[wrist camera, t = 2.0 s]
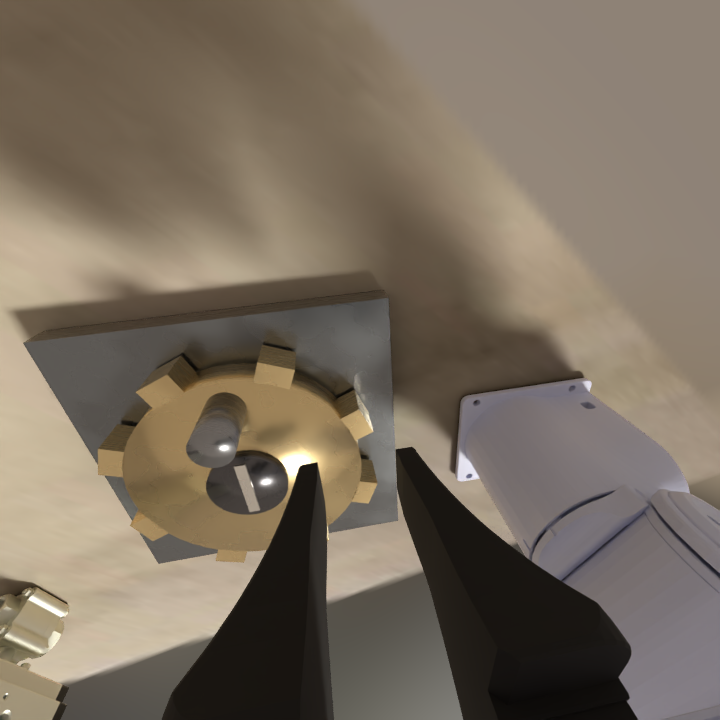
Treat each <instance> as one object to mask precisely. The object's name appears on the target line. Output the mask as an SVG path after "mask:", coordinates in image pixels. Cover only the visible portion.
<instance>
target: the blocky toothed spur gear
mask: <svg viewBox="0 0 720 720" xmlns="http://www.w3.org/2000/svg"><path fill="white" fill-rule="evenodd" d="M295 361H296V352H293V351H289V350H284V349H279V348H275V347H270V346H266V345H262V348H261V351H260V355H259V358H258V362H257V364H252V363H239V364H226V365H221V366H216V367H211V368H208V369H204V370H201V371H198V372H196V371H195V370H194V369H193V368H192V367H191V366H190V365H189V364H188V362H187V361H186V360H185V359H184V358H183V357H182V356H179V357H177V358H175V359H174V360H172V361H170V362H168V363H167V364H165V365H163V366H161V367H159V368H158V369H156V370H154V371H152V373H151V374H150V375H149V376H148V378H147V379H146V380H145V381H144V382H143V384H142V385H141V386H140V387H139V388H138V390H137V391H136V393H137V394H138V395H139V396H140V397H141V398H142V399H143V400H145V401H146V402H147V403H148V404H149V405H150V407H149V409H148V410H147V412H146V413H145V415H144V416H143V417H142V419H141V420H140V422H139V423H138V425H137V426H136V427H135V426H128V425H120V424H117V425H116V426H115V428H114V429H113V430H112V432H111V433H110V434H109V435H108V437H107V438H106V439H105V440H104V442H103V443H102V444H101V446H100V447H99V448H98V475H105V476H115V477H123V479H124V482H125V486H126V489H127V491H128V493H129V495H130V497H131V499H132V501H133V502H134V503H135V505H136V506H137V508H138V511H137V513H136V515H135V517H134V519H133V521H132V523H131V525H130V526H131V527H133V528H134V529H136V530H137V531H139V532H140V533H142V534H143V535H144V536H146V537H147V538H149V539H150V540H152V541H154V540H156V539H158V538H160V537H162V536H164V535H166V534H168V533H169V534H171V535H173V536H175V537H177V538H179V539H181V540H184V541H187V542H189V543H192V544H195V545H199V546H202V547H206V548H212V549H217V550H218V553H217V557H216V561H227V562H244V561H245V557H246V553H247V551H261V550H267V549H268V547H269V545H270V543H271V540H272V538H273V536H274V534H275V532H276V529H277V527H278V525H279V523H280V521H281V518H282V516H283V513H284V510H285V508H286V505H287V503H288V500H289V497H290V495H291V492H292V489H293V486H294V482H295V479H296V475H297V471H298V467H299V466H300V465H303V464H309V463H316V462H318V467H319V472H320V477H321V483H322V488H323V493H324V498H325V507H326V520H327V541H329V535H328V526H329V525H330V524H331V523H333V522H334V521H335V520H336V519H337V518H338V517H339V516H340V515H341V514H342V513H343V512H344V511H345V510H346V509H347V507H348V506H349V504H350V503H351V502H358V503H368V504H369V502H370V499H371V497H372V495H373V493H374V491H375V488H376V486H377V484H378V483H377V479H376V474H375V470H374V466H373V462H372V460H366V459H361V457H360V452H359V447H358V442H357V440H358V439H360V438H362V437H364V436H366V435H368V434H370V433H372V432H373V428H372V424H371V420H370V417H369V413H368V410H367V408H366V407H365V405H364V404H363V402H362V401H361V399H360V398H359V396H358V394H357V393H356V391H355V390H353V391H351V392H349V393H347V394H345V395H343V396H341V397H339V398H336V397H335V396H334V395H333V394H332V393H331V392H330V391H329V390H327V389H326V388H324V387H323V386H322V385H320V384H319V383H317V382H316V381H314V380H312V379H310V378H308V377H306V376H304V375H302V374H299V373H297V372H295Z"/></svg>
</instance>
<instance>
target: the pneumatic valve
mask: <svg viewBox="0 0 720 720" xmlns="http://www.w3.org/2000/svg"><path fill="white" fill-rule="evenodd" d="M68 607H69V606H68V605H67V604H65V603H64V602H62V601H60V600H58V599H57V598H55V597H53V596H51V595H50V594H48V593H46V592H44V591H43V590H41V589H39V588H37V587H34V588H30V587H29V588H27V589H24V590H23V591H22V594H21V595H18V596H14V595H12V594H6V595H3V596H0V720H60V719H61V717H62V715H63V713H64V710H65V708H66V706H67V705H66V704H64V703H62V702H63V699H64V697H65V695H66V693H67V691H68V689H69V687H67V686H64V685H62V684H59V683H57V682H55V681H52V680H50V679H48V678H45V677H43V676H40V675H38V674H36V673H33V672H31V671H29V670H28V669H29V668H30V666H31V665H30V664H29V663H24V664H22V665H21V666H18V665H16V664H17V663H18V662H19V661H22V660H24V659H27V658H28V657H29V658H31V659H33V658H38V657H41V656H43V655H44V654H46V653H47V652H48V651H49V650H50V649H51V648H52V647H53V646H54V645H55V644H56V643H57V641H58V640H59V638H60V637H61V635H62V633H63V630H64V624H63V621H61V620H60V618H63V617H65V616H66V615H67V614H68V612H69V609H68Z"/></svg>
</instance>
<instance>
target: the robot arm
mask: <svg viewBox="0 0 720 720" xmlns="http://www.w3.org/2000/svg"><path fill="white" fill-rule="evenodd" d="M591 384H592V383H591V381H590V380H588V379H587V378H580V379H573V380H567V381H560V382H553V383H547V384H540V385H533V386H527V387H520V388H514V389H507V390H500V391H494V392H487V393H480V394H474V395H468V396H465V397H464V398H462V400H461V404H460V417H459V431H458V444H457V458H456V471H455V476H456V478H457V480H458V481H467V480H473V479H479V478H480V479H481V481H482V483H483V485H484V486H485V488H486V490H487V491H488V493H489V495H490V497H491V498H492V500H493V502H494V503H495V505H496V507H497V508H498V510H499V512H500V514H501V515H502V517H503V519H504V520H505V522H506V524H507V525H508V527H509V529H510V531H511V532H512V534H513V536H514V537H515V539H516V541H517V543H518V544H519V546H520V548H521V549H522V551H523V552H524V554H525V556H526V557H525V556H524V555H522V554H521V553H520V552H518V551H517V550H516V549H514V548H513V547H511V546H510V545H509V544H507V543H506V542H505V541H504V540H502V539H501V538H500V537H499V536H497V535H496V534H495V533H494V532H492V531H491V530H490V529H489V528H488V527H487V526H485V525H484V524H483V523H482V522H481V521H480V520H479V519H477V518H476V517H475V516H474V515H473V514H472V513H471V512H470V511H469V510H468V509H467V508H466V507H465V506H464V505H463V504H462V503H461V502H460V501H459V500H458V499H457V498H456V497H455V496H454V495H453V494H452V493H451V492H450V491H449V490H448V489H447V488H446V487H445V486H444V485H443V483H442V482H441V481H440V480H439V479H438V478H437V477H436V476H435V474H434V473H433V472H432V471H431V470H430V468H429V467H428V466H427V465H426V463H425V462H424V461H423V460H422V458H421V457H420V456H419V454H418V453H417V452H416V450H415V449H414V448H413V447H408V448H402V449H396V471H397V490H398V494H399V498H400V502H401V506H402V510H403V514H404V517H405V520H406V523H407V526H408V528H409V531H410V534H411V537H412V540H413V542H414V545H415V548H416V551H417V553H418V556H419V559H420V562H421V564H422V567H423V570H424V573H425V575H426V578H427V581H428V585H429V588H430V591H431V595H432V598H433V602H434V606H435V609H436V613H437V617H438V621H439V624H440V628H441V632H442V636H443V640H444V644H445V647H446V651H447V655H448V659H449V663H450V667H451V671H452V675H453V679H454V683H455V687H456V691H457V695H458V699H459V703H460V707H461V712H462V716H463V720H720V511H719V510H717V509H716V508H715V507H713V506H711V505H710V504H708V503H706V502H705V501H703V500H701V499H699V498H698V497H696V496H694V495H692V494H690V493H689V488H688V484H687V481H686V479H685V477H684V475H683V473H682V471H681V470H680V468H679V466H678V465H677V463H676V462H675V461H674V459H673V458H672V457H671V456H670V454H669V453H668V452H667V451H666V450H665V449H664V448H663V447H662V446H661V445H659V444H658V443H657V442H656V441H654V440H653V439H652V438H650V437H649V436H648V435H646V434H645V433H643V432H642V431H641V430H639V429H638V428H637V427H635V426H634V425H633V424H631V423H630V422H629V421H627V420H626V419H625V418H623V417H622V416H621V415H619V414H618V413H616V412H615V411H614V410H612V409H611V408H610V407H608V406H607V405H606V404H604V403H603V402H602V401H600V400H599V399H598V398H596V397H595V396H593V395H592V394H591V393H589V392H590V388H591ZM570 386H571V387H570ZM569 387H570V388H569ZM475 400H477V402H475V403H473V402H474V401H475ZM326 577H327V520H326V507H325V498H324V493H323V488H322V483H321V477H320V472H319V467H318V462H316V463H309V464H303V465H300V466H299V467H298V471H297V475H296V479H295V482H294V486H293V489H292V492H291V495H290V497H289V500H288V503H287V505H286V508H285V510H284V513H283V516H282V518H281V521H280V523H279V525H278V527H277V529H276V532H275V534H274V536H273V538H272V540H271V543H270V545H269V547H268V549H267V551H266V553H265V555H264V557H263V559H262V560H261V562H260V564H259V566H258V568H257V570H256V571H255V573H254V575H253V577H252V578H251V580H250V582H249V584H248V585H247V587H246V589H245V590H244V592H243V594H242V595H241V597H240V599H239V600H238V602H237V603H236V605H235V606H234V608H233V610H232V611H231V613H230V614H229V615H228V617H227V618H226V620H225V621H224V623H223V624H222V626H221V627H220V629H219V630H218V632H217V633H216V634H215V636H214V637H213V639H212V641H211V642H210V643H209V645H208V646H207V648H206V649H205V650H204V652H203V653H202V654H201V655H200V657H199V658H198V659H197V661H196V662H195V663H194V664H193V666H192V667H191V668H190V670H189V671H188V672H187V674H186V675H185V676H184V678H183V679H182V680H181V681H180V683H179V684H178V685H177V687H176V688H175V689H174V691H173V692H172V694H171V697H170V699H169V701H168V704H167V707H166V709H165V712H164V714H163V717H162V720H334V715H333V700H332V687H331V673H330V659H329V643H328V629H327V613H326Z"/></svg>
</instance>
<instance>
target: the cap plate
mask: <svg viewBox="0 0 720 720" xmlns="http://www.w3.org/2000/svg"><path fill="white" fill-rule="evenodd" d="M23 344H24V345H25V347H26V348H27V350H28V352H29V353H30V355H31V357H32V358H33V360H34V362H35V363H36V365H37V366H38V368H39V370H40V371H41V373H42V375H43V376H44V378H45V379H46V381H47V383H48V384H49V386H50V388H51V389H52V391H53V392H54V394H55V396H56V397H57V399H58V401H59V402H60V404H61V405H62V407H63V409H64V410H65V412H66V414H67V415H68V417H69V419H70V420H71V422H72V423H73V425H74V427H75V428H76V430H77V432H78V433H79V435H80V436H81V438H82V440H83V441H84V443H85V445H86V446H87V448H88V449H89V451H90V453H91V454H92V456H93V458H94V459H95V461H96V462H97V464H98V448H99V447H100V446H101V444H102V443H103V442H104V440H105V439H106V438H107V437H108V435H109V434H110V433H111V432H112V430H113V429H114V428H115V426H116V425H117V424H120V425H128V426H135V427H136V426H137V425H138V423H139V422H140V420H141V419H142V417H143V416H144V415H145V413H146V412H147V410H148V409H149V407H150V405H149V404H148V403H147V402H146V401H145V400H143V399H142V398H141V397H140V396H139V395H138V394H137V393H136V391H137V390H138V388H139V387H140V386H141V385H142V384H143V382H144V381H145V380H146V379H147V378H148V376H149V375H150V374H151V373H152V371H154V370H156V369H158V368H159V367H161V366H163V365H165V364H167V363H168V362H170V361H172V360H174V359H175V358H177V357H179V356H182V357H183V358H184V359H185V360H186V361H187V362H188V364H189V365H190V366H191V367H192V368H193V369H194V370H195V371H196V372H198V371H201V370H204V369H208V368H211V367H216V366H221V365H226V364H239V363H252V364H257V362H258V358H259V355H260V351H261V348H262V345H266V346H270V347H275V348H279V349H284V350H289V351H293V352H296V361H295V372H297V373H299V374H302V375H304V376H306V377H308V378H310V379H312V380H314V381H316V382H317V383H319V384H320V385H322V386H323V387H324V388H326V389H327V390H329V391H330V392H331V393H332V394H333V395H334V396H335V397H336V398H339V397H341V396H343V395H345V394H347V393H349V392H351V391H353V390H355V391H356V393H357V394H358V396H359V398H360V399H361V401H362V402H363V404H364V405H365V407H366V408H367V410H368V413H369V417H370V420H371V424H372V428H373V432H372V433H370V434H368V435H366V436H364V437H362V438H360V439H358V440H357V442H358V447H359V452H360V457H361V459H366V460H372V462H373V466H374V470H375V474H376V479H377V483H378V484H377V486H376V488H375V491H374V493H373V495H372V497H371V499H370V502H369V504H368V503H358V502H351V503H350V504H349V506H348V507H347V509H346V510H345V511H344V512H343V513H342V514H341V515H340V516H339V517H338V518H337V519H336V520H335V521H334V522H333V523H331V524H330V525H329V526H328V533H331V532H337V531H343V530H348V529H354V528H359V527H365V526H370V525H376V524H381V523H387V522H393V521H398V509H397V485H396V461H395V437H394V413H393V389H392V365H391V341H390V317H389V298H388V296H387V295H386V293H385V292H384V291H383V290H380V291H371V292H363V293H355V294H347V295H338V296H330V297H322V298H313V299H305V300H297V301H288V302H280V303H272V304H264V305H255V306H247V307H239V308H230V309H222V310H214V311H206V312H197V313H189V314H181V315H172V316H164V317H156V318H148V319H139V320H131V321H123V322H114V323H106V324H98V325H90V326H81V327H73V328H65V329H56V330H48V331H43V332H42V333H40V334H38V335H36V336H34V337H33V338H31V339H29V340H27V341H26V342H24V343H23ZM104 476H105V475H104ZM105 477H106V479H107V480H108V482H109V484H110V485H111V487H112V489H113V490H114V492H115V493H116V495H117V497H118V498H119V500H120V502H121V503H122V505H123V506H124V508H125V510H126V511H127V513H128V515H129V516H130V518H131V519H132V521H133V519H134V517H135V515H136V513H137V511H138V508H137V506H136V505H135V503H134V502H133V501H132V499H131V497H130V495H129V493H128V491H127V489H126V486H125V482H124V479H123V477H115V476H105ZM139 533H140V532H139ZM140 534H141V536H142V537H143V539H144V541H145V542H146V544H147V546H148V547H149V549H150V550H151V552H152V554H153V555H154V557H155V559H156V560H157V562H158V563H165V562H171V561H176V560H182V559H187V558H193V557H198V556H204V555H209V554H215V553H218V550H217V549H212V548H206V547H202V546H199V545H195V544H192V543H189V542H187V541H184V540H181V539H179V538H177V537H175V536H173V535H171V534H169V533H168V534H166V535H164V536H162V537H160V538H158V539H156V540H154V541H152V540H150V539H149V538H147V537H146V536H144V535H143V534H142V533H140Z"/></svg>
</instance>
